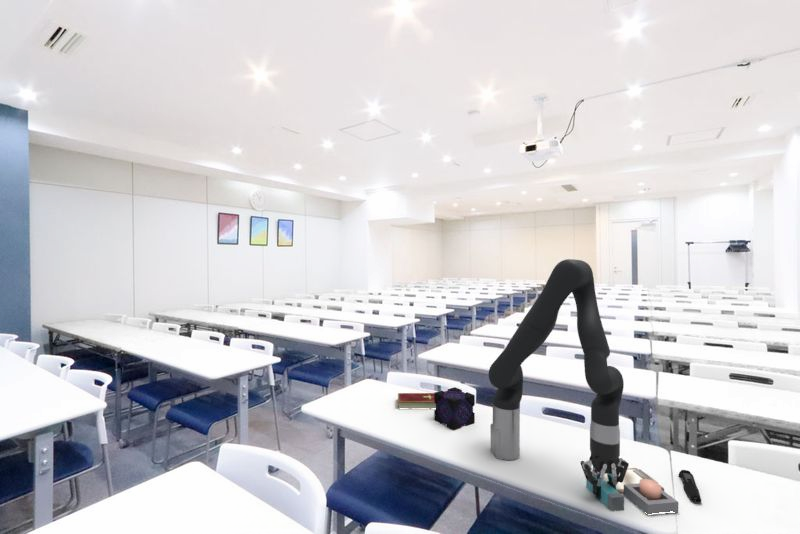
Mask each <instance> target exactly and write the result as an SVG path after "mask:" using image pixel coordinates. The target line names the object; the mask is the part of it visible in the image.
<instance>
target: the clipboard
mask: <svg viewBox="0 0 800 534" xmlns="http://www.w3.org/2000/svg"><path fill="white" fill-rule="evenodd" d="M591 472H592V470H591ZM592 475H593V473H592ZM619 475H620V473H619ZM641 479H649V480H652V481H655V482H657V483H658V484H659V482H658V481H657V480H656V479H654V478H653V477H651V476H650V475H649V474H647V473H646V472H644V471H643V470H642V469H639V468H637V467H632V468H629V467H628V468H627V471H626V474H625V477H624V480H623V482H622V483H620V482H618V483H617V485H616V490H617V491H618V492H619V493H621V494H622V495H624V485H625V484H638V483H640V480H641ZM604 480H605V481H606V482H607V481H609V480H608V477H607V473H606V474H604ZM660 486H661V489H662V490H663V491H665V487H663V486H662V485H660Z"/></svg>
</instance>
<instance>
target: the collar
mask: <svg viewBox="0 0 800 534" xmlns="http://www.w3.org/2000/svg"><path fill="white" fill-rule="evenodd" d="M639 486H640V483H638V484H625V485H624V494H623V496H624V497H626V498H627V499H628V500H629V501H630V502H631V501H632V502H631V503H632V504H633V505H634V506H636V505H637V506H638V507H639V510H641V509H642V510H643V511H644V512H646V513H647V514H652V513H659V512H670V511H673V512H675V513H674V514H679V501H678V500H676V498H674V497H673V496H671V495H670V494H668V493H667V492H665V490H662V489H661V499H660V500H650V499H647V498H645V497H644V496H642V495H641V494H640V492H639ZM637 506H636V507H637ZM638 507H637V508H638ZM642 510H641V511H642ZM643 511H642V512H643ZM644 512H643V513H644ZM647 514H646V515H647Z"/></svg>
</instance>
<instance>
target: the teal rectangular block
mask: <svg viewBox="0 0 800 534" xmlns="http://www.w3.org/2000/svg"><path fill="white" fill-rule="evenodd" d="M585 483H586V488H587V489H588V490H589V491H590V492H591V493H592V494H593V485H592V484H591V483H590V482H589V481H588V480H587V479H586V482H585ZM599 500H600V502H602V503H603V504H604V505H605V506H606V507H607V508H608V509H609V510H610V511H611V512H615V510H616V512H617V511H624V510H625V496H624V494H621V493H619V492H618V491H617V490H615V489H614V488H613V487H612V486H610V485H609V484H608V483H607V482H606V481H605V480H604V479H602V482H601V499H599Z"/></svg>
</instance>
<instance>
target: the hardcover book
mask: <svg viewBox="0 0 800 534" xmlns="http://www.w3.org/2000/svg"><path fill="white" fill-rule="evenodd" d="M434 393H435V392H426V393H425V392H424V393H423V392H408V393H407V392H406V393H405V392H403V393H402V392H400V393H399V392H398V393H397V403H398V409H399V408H436V403H434Z"/></svg>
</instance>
